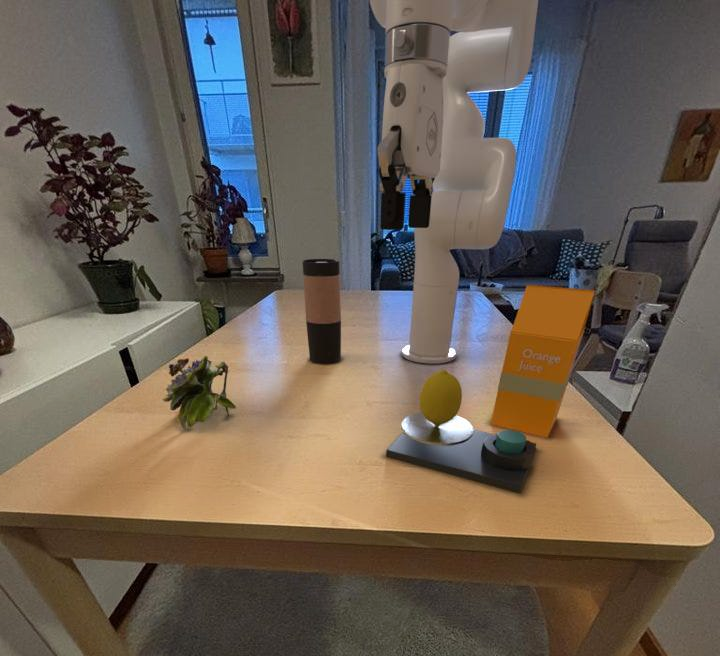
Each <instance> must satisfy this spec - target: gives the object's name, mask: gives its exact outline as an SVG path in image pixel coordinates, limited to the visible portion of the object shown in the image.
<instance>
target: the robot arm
mask: <svg viewBox="0 0 720 656" xmlns="http://www.w3.org/2000/svg"><path fill="white" fill-rule="evenodd" d="M369 5H370V9H371V11H372V13H373V15H374V18H375V20H376V21H377V23H378V24H379V25H380V27H382V28H384V29H385V40H384V72H383V73H384V74H383V75H384V76H383V77H384V78H385V79H386V82H385V89H384V100H383V112H382V124H381V125H382V128H381V140H380V142H379V144H378V145H377V156H378V165H379V168H378V175H379V178H380V184H379V191H380V229H381V230H383V231H402V230H404V227H405V211H406V195H407V193H406V192H403V191H404V188H405V185H406V182H407V180H409V181H410V186H411V190H412V195H409V205H408V206H409V207H408V221H407V222H408V225H407V226H408V228H410V229H413V232H414V271H413V272H414V273H413V287H412V298H411V299H412V300H411V315H410V327H409V329H410V330H409V340H408V345H406V346H405V347H403V348H402V349H401V356H402V357H403V358H405V359H406V360H408V361H411V362H414V363H419V364H431V365H433V364H435V365H436V364H444V363H449V362H452V361H453V360H455V359H456V357H457V352H456V350H455V349H454V348H452V347H451V343H452V336H453V327H454V320H455V313H456V305H457V298H458V290H459V282H460V269H459V266H458V264H457V262H456V260H455V258H454V256H453V255H452V253H451V251H450V250H489V249H492V248H494V247H495V246H496V245H497V244H498V242H499V241H500V239H501V236H502V234H503V230H504V227H505V222H506V217H507V213H508V208H509V203H510V199H511V195H512V190H513V184H514V179H515V174H516V167H517V150H516V146H515V144H514V141H512V140H511V139H509V138H506V137H484V135H485V130H486V122H485V118H484V116H483V113H482V111H481V110H480V108H479V106H478V105H477V104H476V102H475V101H474V99H473V98H471V97H470V95H469V94H473V93H484V92H485V93H487V92H498V91H499V92H500V91H509V90H513V89H516V88H518V87H519V86H521V85H522V84H523V82H524V81H525V80H526V77H528V76H527V75H528V73H529V70H530V67H531V63H532V57H533V52H534V51H533V50H534V43H535V34H536V33H535V32H536V22H537V15H538V14H537V13H538V7H539V6H538V5H539V0H369ZM451 32H456V33H454V34H452V35H451Z"/></svg>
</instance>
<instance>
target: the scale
mask: <svg viewBox="0 0 720 656" xmlns="http://www.w3.org/2000/svg"><path fill="white" fill-rule="evenodd" d="M473 430H474V431H473V435H472V437H471V438H470V439H469V440H468V441H466V442H464V443H461V444H457V445H451V446H435V445H428V444H424V443H420V442H418V441H415V440H413V439H411V438H409V437H408V436H407V435H405V434H404V432H403V431H402V433H401V434H400V435H399V436H398V437H397V439H395V441H393V443H391V444H390V446H389V447H387V449H386V452H385V453H386V454H385V457H386V458H389V459H393V460H396V461H400V462H403V463H407V464H411V465H415V466H419V467H421V468H425V469H428V470H433V471H435V472H436V471H437V472H440V473H443V474H446V475H451V476H455V477H458V478H461V479H466V480H469V481H472V482H476V483H480V484H483V485H487V486H490V487H494V488H497V489H502V490H505V491H510V492H513V493H516V494H521V492H522V489H523V486H524V483H525V480H526V478H527V475H528V471H529V469H530V468H531V467H532V465H533V462H534V459H535V455H536V452H537V442H532V441H529V440H527V439H526V443H525V446H524V450H523V452H522V453H520V454H510V453H506V452H502V451H500V450H498V449H496V448H495V443H496V438H497V434H498V433H490V432H487V431H482V430H477V429H473Z"/></svg>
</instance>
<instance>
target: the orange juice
mask: <svg viewBox="0 0 720 656" xmlns="http://www.w3.org/2000/svg"><path fill="white" fill-rule="evenodd" d="M595 291H596V290H595V289H586V288H585V289H583V288H571V287H561V286H550V285H549V286H548V285H536V284H526V287H525V290H524V293H523V295H522V298H521V301H520V305H519V307H518V309H517V312H516V316H515V319H514V322H513V325H512V328H511V330H510V332H509V337H508V341H507V347H506V350H505V356H504V360H503V365H502V369H501V372H500V377H499V382H498V386H497V392H496V398H495V402H494V406H493V410H492V416H491V420H490V425H493V426H497V427H502V428H505V429H509V430H513V431H517V432H521V433H526V434H531V435H535V436H539V437H543V438H548V437H549V435H550V433H551V431H552V429H553V427H554V425H555V422H556V421H557V418H558V415H559V412H560V409H561V405H562V402H563V399H564V396H565V393H566V390H567V387H568V384H569V381H570V378H571V375H572V372H573V368H574V364H575V362H576V358H577V355H578V352H579V349H580V345H581V342H582V339H583V336H584V332H585V329H586V326H587V325H586V324H587V321H588V318H589V314H590V311H591V307H592V303H593V299H594V295H595Z"/></svg>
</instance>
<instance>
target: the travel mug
mask: <svg viewBox="0 0 720 656" xmlns="http://www.w3.org/2000/svg"><path fill="white" fill-rule="evenodd" d="M340 264H341V263H340V260H336V259H334V258H308V259H303V260H302V274H303V288H304V289H303V290H304V291H303V294H304V307H305V308H304V309H305V310H304V311H305V324H306V333H307V343H308V344H307V345H308V354H309V360H310V362H311V363H314V364H319V365H329V364H335V363H338V362H340V361H341V358H342V303H341V275H340V274H341V272H340Z"/></svg>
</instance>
